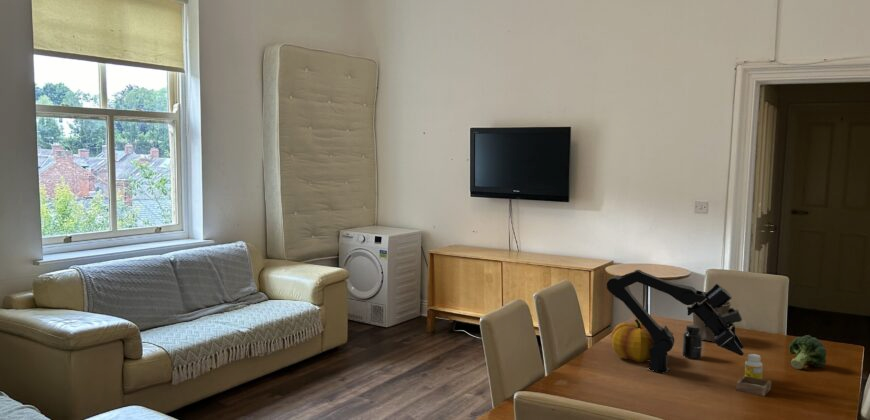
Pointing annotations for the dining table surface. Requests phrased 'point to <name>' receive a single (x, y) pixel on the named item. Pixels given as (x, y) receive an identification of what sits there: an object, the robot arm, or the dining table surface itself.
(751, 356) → the supplement bottle
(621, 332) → the decorative pumpkin
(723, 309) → the plant pot
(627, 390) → the dining table surface
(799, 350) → the vegetable
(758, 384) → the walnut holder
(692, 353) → the supplement bottle
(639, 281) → the robot arm
